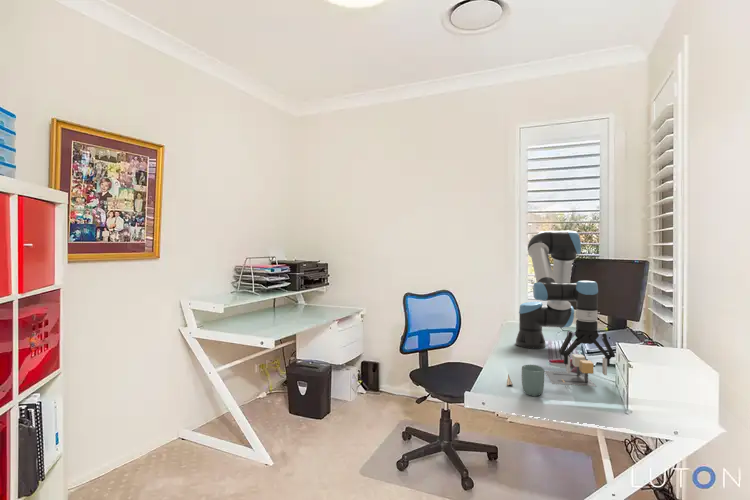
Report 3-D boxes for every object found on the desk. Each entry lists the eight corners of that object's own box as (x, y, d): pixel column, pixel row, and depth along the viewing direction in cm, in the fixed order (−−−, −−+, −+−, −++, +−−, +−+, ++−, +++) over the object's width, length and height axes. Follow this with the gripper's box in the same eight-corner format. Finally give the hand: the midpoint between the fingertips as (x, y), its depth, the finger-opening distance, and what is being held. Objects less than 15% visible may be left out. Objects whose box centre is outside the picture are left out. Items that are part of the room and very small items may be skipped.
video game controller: (580, 379, 172) (588, 365, 171) (570, 373, 173) (578, 359, 172) (573, 371, 182) (581, 358, 181) (563, 366, 182) (571, 353, 182)
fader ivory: (571, 372, 171) (572, 354, 170) (582, 373, 170) (582, 354, 170) (574, 376, 167) (574, 356, 167) (585, 376, 166) (585, 357, 166)
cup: (517, 392, 154) (517, 366, 154) (532, 388, 157) (532, 363, 157) (532, 399, 147) (532, 372, 147) (548, 396, 150) (548, 369, 150)
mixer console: (543, 373, 175) (543, 370, 175) (583, 375, 172) (583, 372, 172) (552, 386, 159) (552, 383, 159) (596, 389, 156) (596, 386, 156)
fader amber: (579, 379, 163) (579, 359, 162) (589, 380, 162) (590, 360, 162) (582, 383, 159) (582, 362, 159) (593, 383, 158) (593, 363, 158)
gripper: (555, 320, 158) (555, 374, 159) (625, 323, 154) (624, 378, 154) (551, 317, 166) (550, 368, 166) (617, 319, 161) (616, 371, 162)
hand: (586, 373), depth 160 cm, fingers open, 13 cm apart
